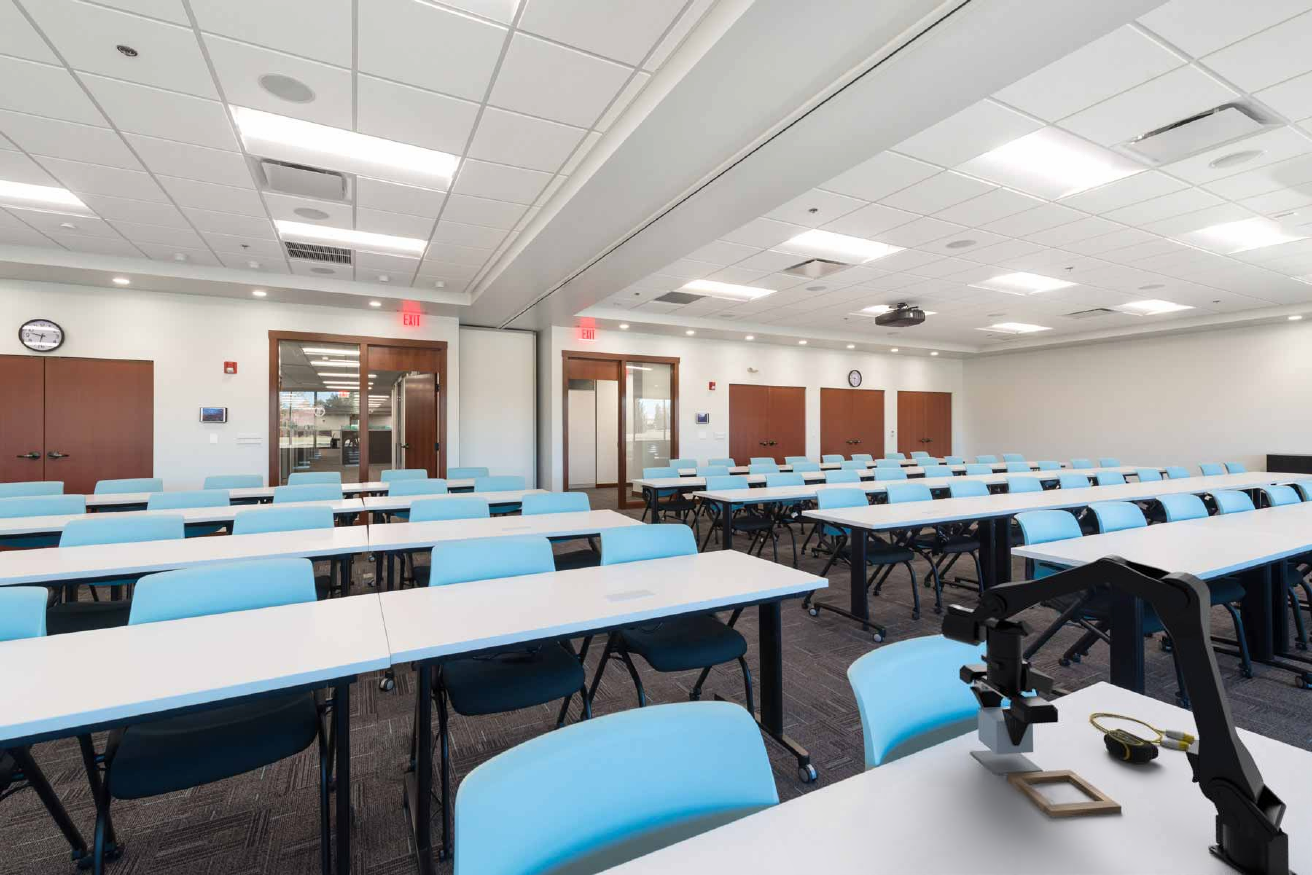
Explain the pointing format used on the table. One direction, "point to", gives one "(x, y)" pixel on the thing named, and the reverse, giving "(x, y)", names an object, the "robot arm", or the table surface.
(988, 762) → the pad
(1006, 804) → the table surface
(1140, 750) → the tape measure
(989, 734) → the part block
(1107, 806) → the frame
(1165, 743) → the extension cord
